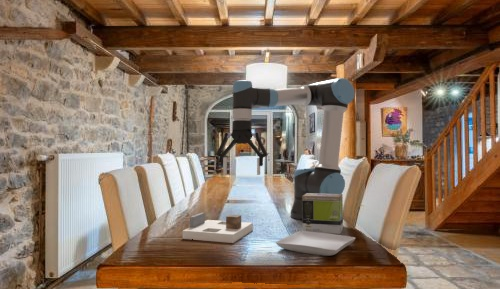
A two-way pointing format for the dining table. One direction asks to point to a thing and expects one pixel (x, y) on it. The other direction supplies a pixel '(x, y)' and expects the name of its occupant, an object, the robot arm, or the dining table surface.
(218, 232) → the platform
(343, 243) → the salad plate
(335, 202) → the tea box
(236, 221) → the walnut block
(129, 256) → the dining table surface
